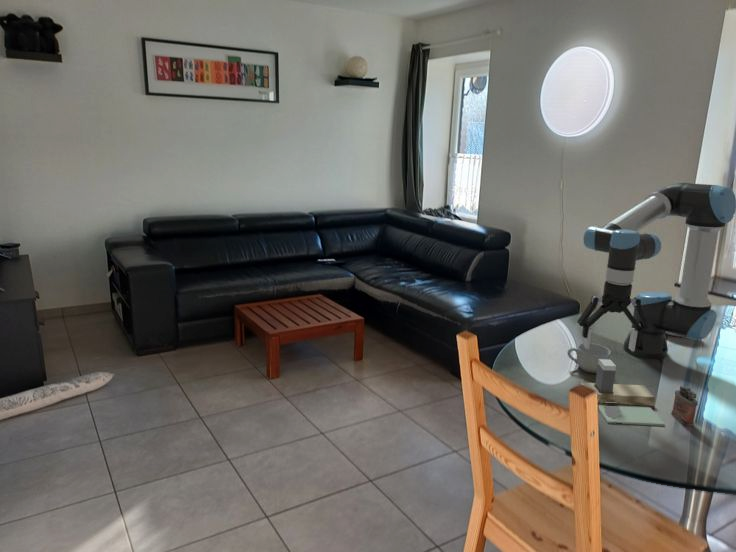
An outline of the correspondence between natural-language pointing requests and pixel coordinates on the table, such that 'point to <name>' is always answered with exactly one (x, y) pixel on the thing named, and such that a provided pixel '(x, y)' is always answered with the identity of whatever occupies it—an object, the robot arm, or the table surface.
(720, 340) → the table surface
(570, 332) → the table surface
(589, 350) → the teacup
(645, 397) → the block
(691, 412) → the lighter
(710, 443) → the table surface
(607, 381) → the gray rectangular block
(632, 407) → the mat
